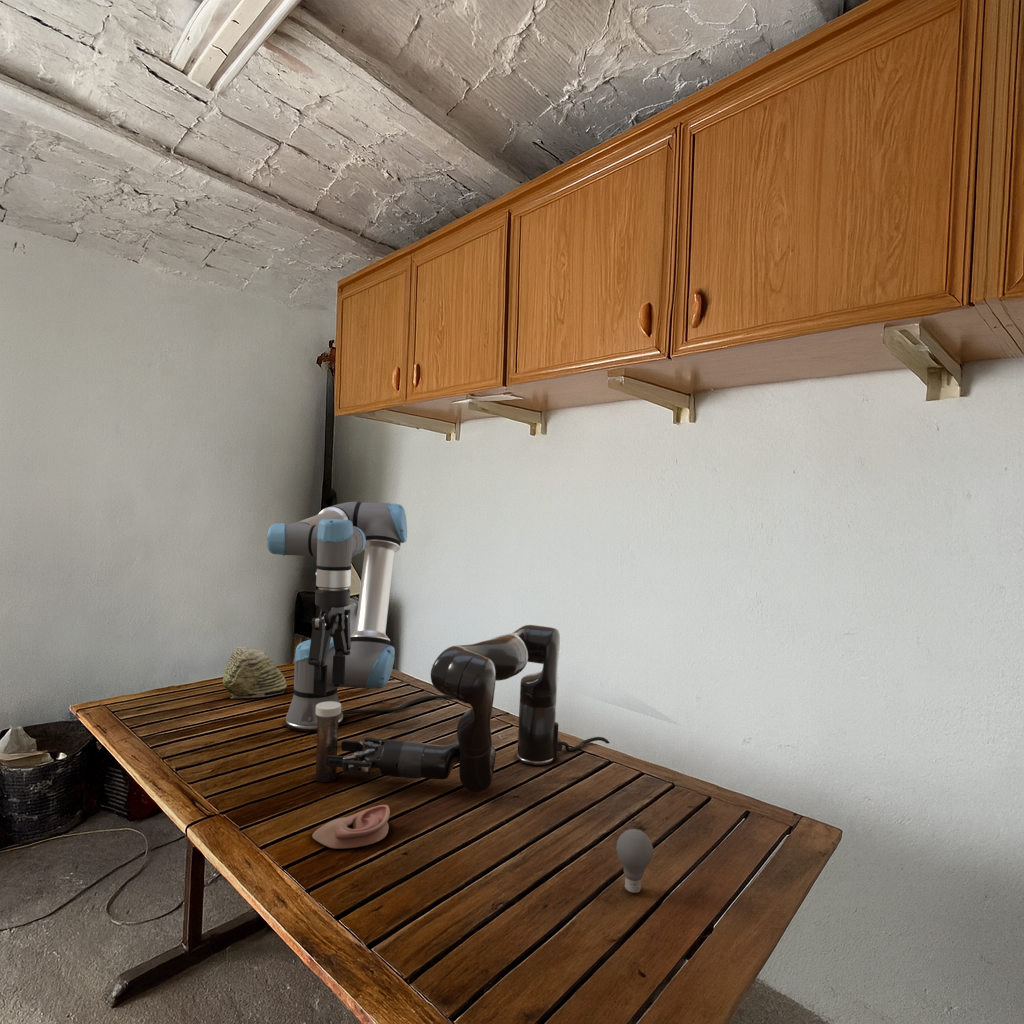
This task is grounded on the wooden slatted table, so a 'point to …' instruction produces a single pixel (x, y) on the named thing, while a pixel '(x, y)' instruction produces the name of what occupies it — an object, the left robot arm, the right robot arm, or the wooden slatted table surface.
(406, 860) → the wooden slatted table surface
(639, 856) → the light bulb
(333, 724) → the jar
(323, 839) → the anatomical model
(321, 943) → the wooden slatted table surface
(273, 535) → the left robot arm
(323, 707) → the lid
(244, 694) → the fossil
